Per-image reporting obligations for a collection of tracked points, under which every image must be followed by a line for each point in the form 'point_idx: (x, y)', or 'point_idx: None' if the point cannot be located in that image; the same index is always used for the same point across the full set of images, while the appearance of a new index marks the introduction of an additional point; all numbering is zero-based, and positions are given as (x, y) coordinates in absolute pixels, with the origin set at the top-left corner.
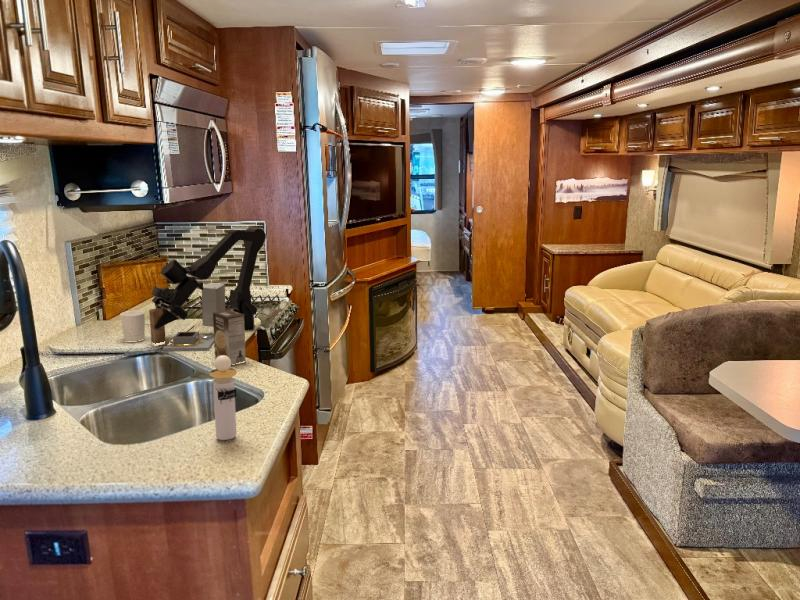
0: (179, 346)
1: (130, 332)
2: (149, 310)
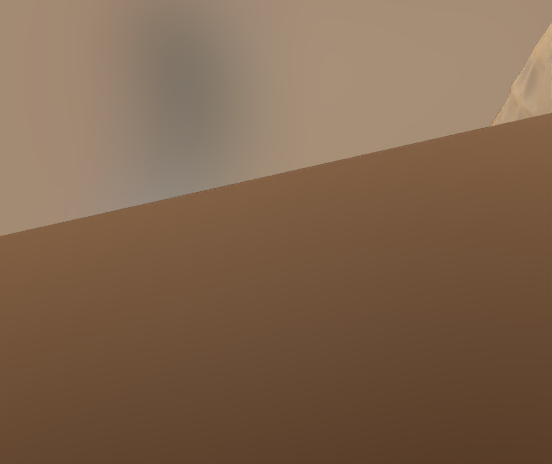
0: None
1: (521, 85)
2: (498, 141)
